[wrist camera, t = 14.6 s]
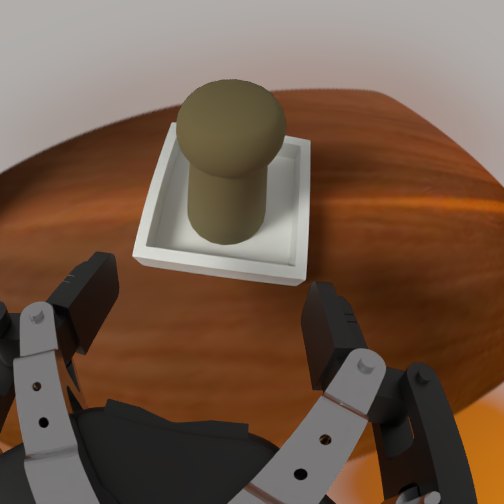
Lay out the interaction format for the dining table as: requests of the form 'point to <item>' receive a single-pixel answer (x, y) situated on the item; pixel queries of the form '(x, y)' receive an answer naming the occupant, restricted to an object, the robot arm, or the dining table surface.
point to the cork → (229, 156)
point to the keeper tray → (238, 255)
